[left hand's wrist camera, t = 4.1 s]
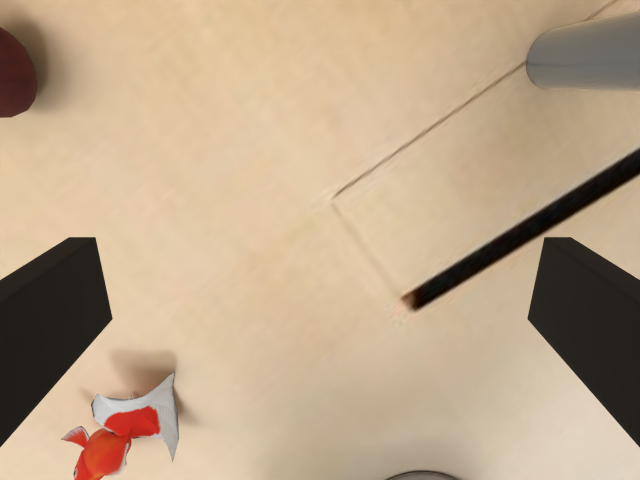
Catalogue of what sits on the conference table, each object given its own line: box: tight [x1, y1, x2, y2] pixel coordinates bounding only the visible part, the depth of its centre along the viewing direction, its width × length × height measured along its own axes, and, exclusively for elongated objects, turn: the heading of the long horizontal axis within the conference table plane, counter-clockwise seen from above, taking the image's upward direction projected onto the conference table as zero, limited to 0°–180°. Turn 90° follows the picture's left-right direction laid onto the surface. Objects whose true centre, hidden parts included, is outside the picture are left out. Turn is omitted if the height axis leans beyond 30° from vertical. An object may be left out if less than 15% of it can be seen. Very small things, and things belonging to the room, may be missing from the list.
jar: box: [526, 9, 640, 93], centre depth 28 cm, size 5×5×17 cm
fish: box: [61, 372, 179, 480], centre depth 45 cm, size 11×16×10 cm
